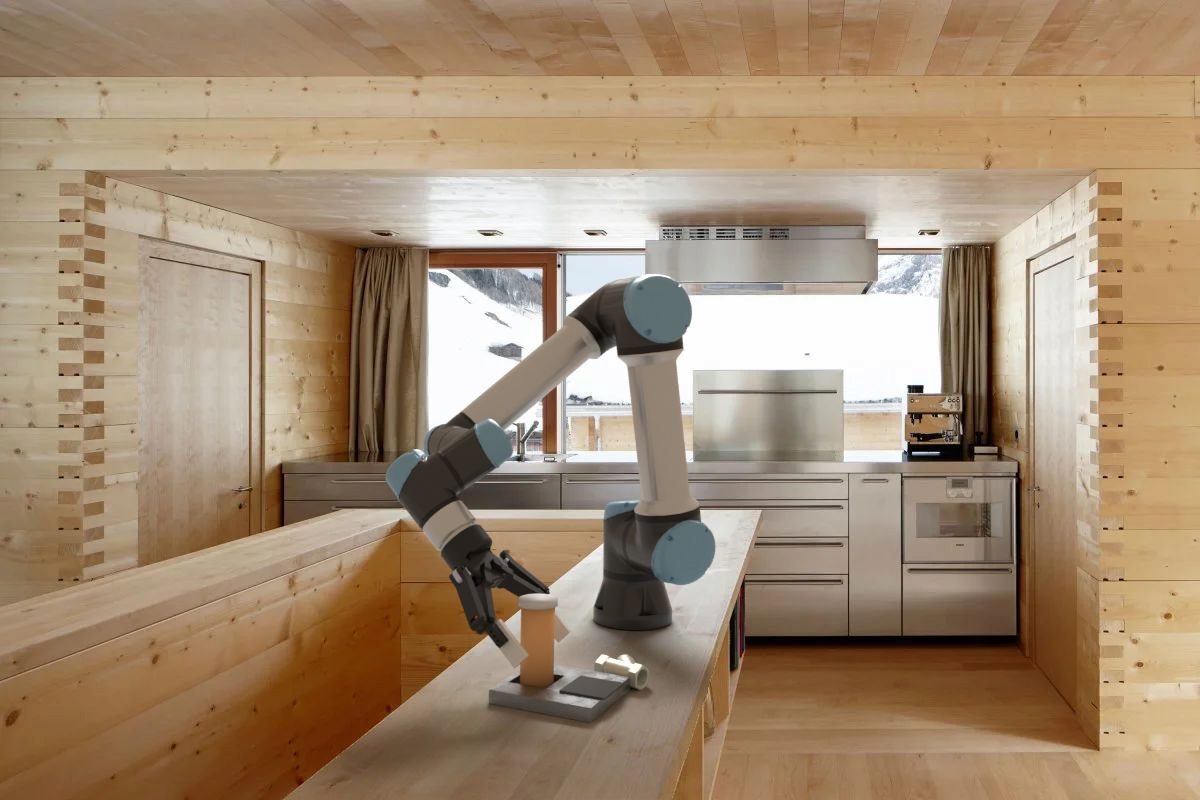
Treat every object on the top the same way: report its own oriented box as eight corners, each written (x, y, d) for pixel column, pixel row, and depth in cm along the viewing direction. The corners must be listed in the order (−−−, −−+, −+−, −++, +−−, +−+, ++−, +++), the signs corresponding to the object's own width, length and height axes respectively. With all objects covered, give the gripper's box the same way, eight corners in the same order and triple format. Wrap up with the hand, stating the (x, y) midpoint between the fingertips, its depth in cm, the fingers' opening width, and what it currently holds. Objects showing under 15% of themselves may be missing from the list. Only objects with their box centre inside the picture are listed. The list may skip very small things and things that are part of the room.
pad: (580, 677, 136) (580, 675, 136) (623, 684, 133) (623, 682, 133) (559, 692, 130) (559, 690, 130) (604, 700, 127) (604, 698, 127)
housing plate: (534, 674, 143) (535, 661, 143) (629, 690, 137) (629, 677, 137) (488, 703, 130) (488, 689, 130) (590, 722, 124) (590, 708, 124)
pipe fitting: (619, 673, 146) (593, 681, 141) (621, 649, 146) (594, 655, 141) (660, 685, 141) (634, 693, 136) (662, 659, 141) (636, 666, 136)
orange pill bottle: (528, 683, 139) (530, 592, 139) (562, 689, 137) (564, 596, 136) (509, 695, 134) (511, 600, 133) (545, 701, 131) (546, 604, 131)
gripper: (486, 540, 152) (565, 641, 147) (394, 568, 130) (483, 690, 124) (514, 511, 150) (596, 613, 144) (426, 535, 127) (518, 657, 122)
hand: (544, 649), depth 134 cm, fingers open, 13 cm apart
